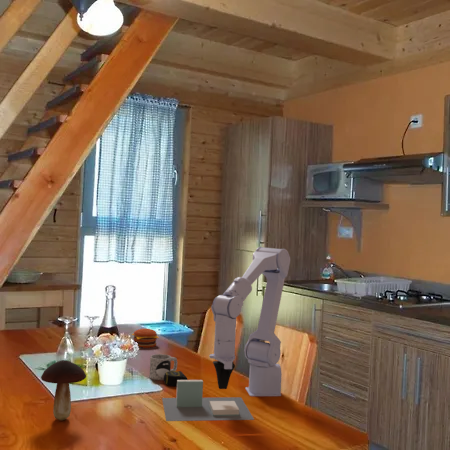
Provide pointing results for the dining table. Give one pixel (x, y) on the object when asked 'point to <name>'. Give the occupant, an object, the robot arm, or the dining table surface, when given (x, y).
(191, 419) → the mat
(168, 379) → the tape measure
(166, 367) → the mug
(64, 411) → the decorative mushroom
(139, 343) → the hamburger
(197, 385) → the tile
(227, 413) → the tile
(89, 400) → the dining table surface
